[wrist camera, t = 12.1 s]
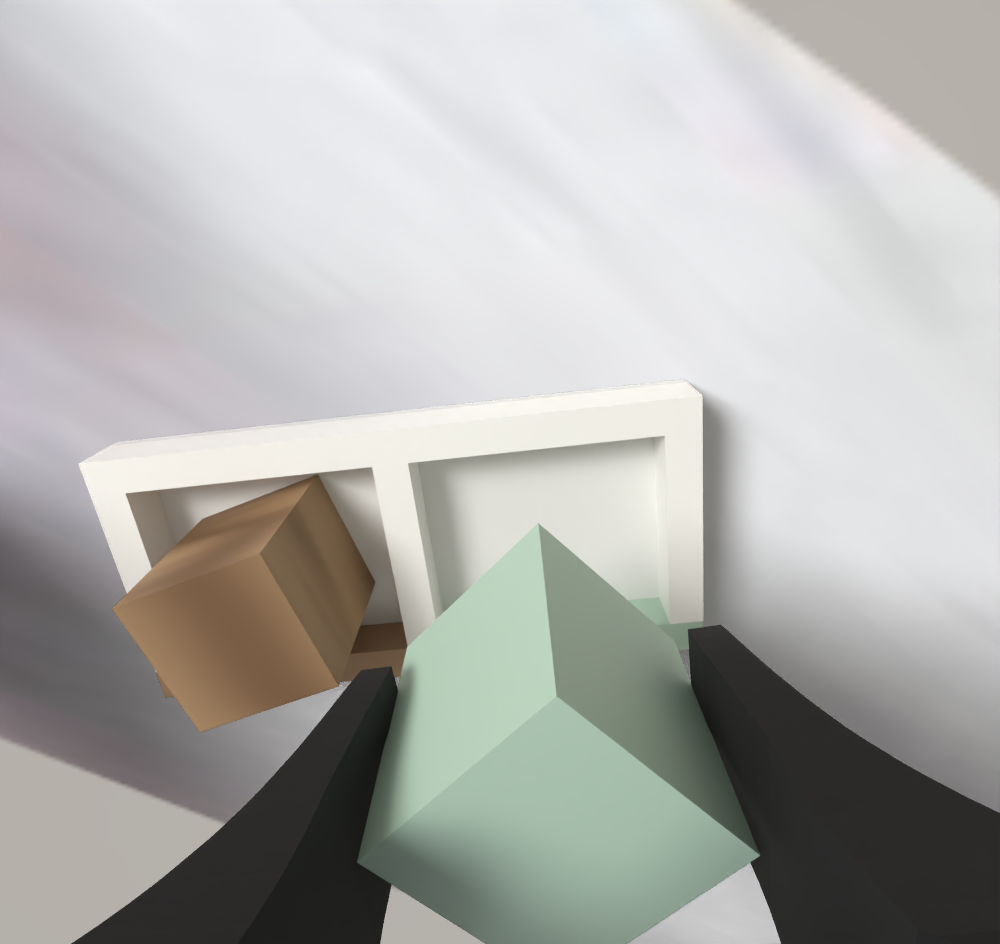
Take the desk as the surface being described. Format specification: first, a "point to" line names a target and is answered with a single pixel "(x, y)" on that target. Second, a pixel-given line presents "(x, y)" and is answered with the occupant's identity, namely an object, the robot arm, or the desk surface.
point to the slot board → (446, 497)
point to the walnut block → (253, 606)
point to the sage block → (550, 764)
